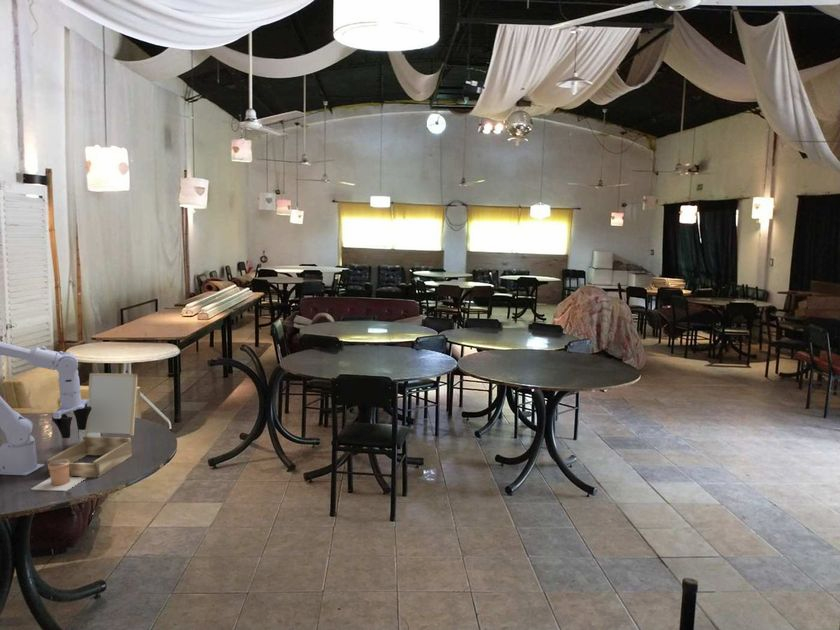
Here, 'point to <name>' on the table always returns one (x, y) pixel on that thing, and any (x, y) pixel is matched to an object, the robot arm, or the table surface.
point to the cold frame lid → (112, 403)
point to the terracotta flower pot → (59, 472)
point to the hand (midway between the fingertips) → (74, 433)
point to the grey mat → (48, 487)
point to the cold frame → (109, 447)
